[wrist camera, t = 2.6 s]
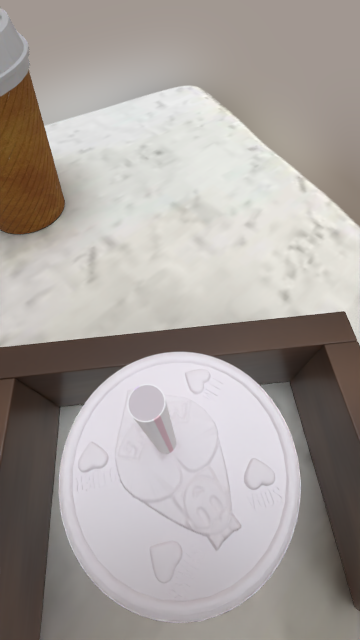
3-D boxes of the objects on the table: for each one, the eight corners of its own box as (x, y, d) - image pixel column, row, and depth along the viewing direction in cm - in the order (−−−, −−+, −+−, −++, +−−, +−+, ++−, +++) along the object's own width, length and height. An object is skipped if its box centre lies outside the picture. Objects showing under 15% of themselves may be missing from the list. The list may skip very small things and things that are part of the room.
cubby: (389, 603, 14) (496, 664, 9) (2, 654, 13) (-104, 747, 8) (307, 354, 20) (345, 310, 15) (37, 383, 19) (-14, 348, 14)
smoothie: (194, 393, 19) (204, 207, 6) (270, 490, 16) (532, 490, 4) (102, 463, 17) (-127, 390, 5) (170, 584, 14) (58, 1153, 2)
